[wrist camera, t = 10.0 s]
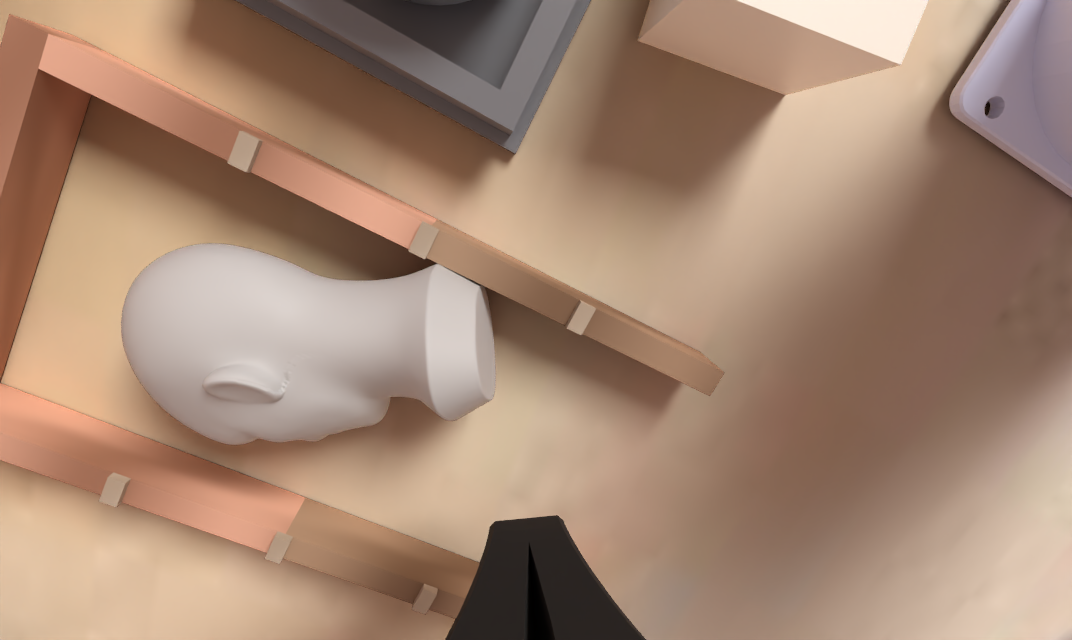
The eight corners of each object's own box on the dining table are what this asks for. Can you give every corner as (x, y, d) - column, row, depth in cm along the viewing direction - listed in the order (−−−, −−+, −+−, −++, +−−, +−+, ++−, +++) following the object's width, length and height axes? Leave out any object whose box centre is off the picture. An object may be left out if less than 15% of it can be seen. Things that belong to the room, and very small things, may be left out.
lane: (700, 352, 15) (727, 375, 13) (543, 608, 17) (550, 657, 15) (72, 34, 12) (0, 10, 10) (-38, 395, 14) (-115, 427, 12)
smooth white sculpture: (211, 370, 15) (170, 200, 13) (491, 394, 16) (509, 238, 13) (116, 493, 12) (30, 292, 9) (483, 517, 13) (505, 337, 10)
